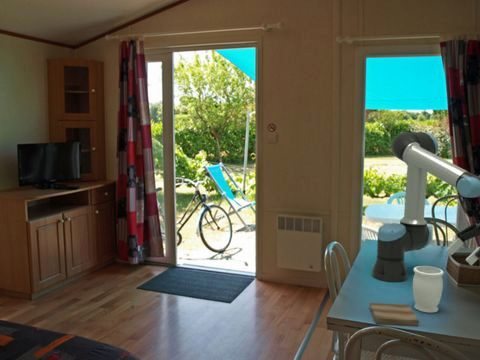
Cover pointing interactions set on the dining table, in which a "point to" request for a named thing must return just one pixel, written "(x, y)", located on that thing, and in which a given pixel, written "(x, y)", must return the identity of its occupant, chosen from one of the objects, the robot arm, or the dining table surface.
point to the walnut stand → (393, 314)
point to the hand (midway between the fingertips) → (458, 257)
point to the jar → (427, 288)
